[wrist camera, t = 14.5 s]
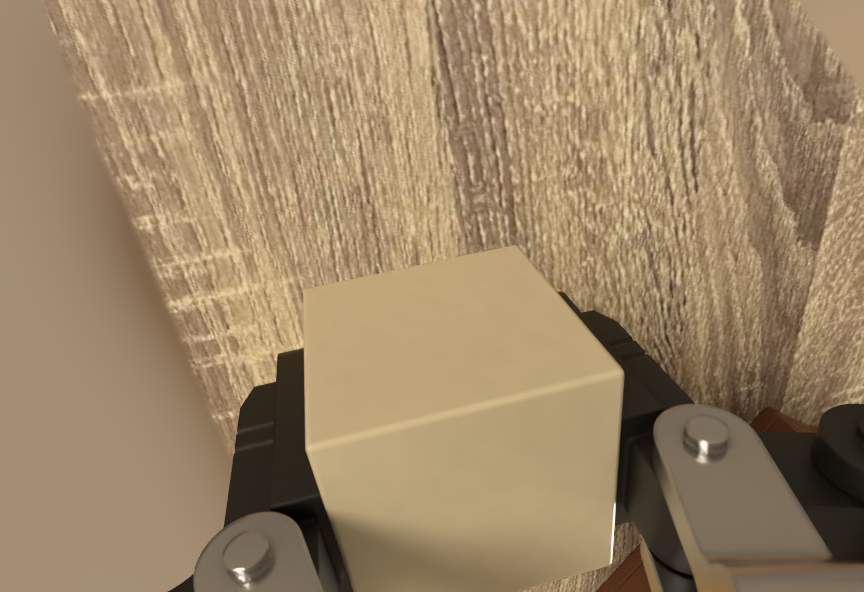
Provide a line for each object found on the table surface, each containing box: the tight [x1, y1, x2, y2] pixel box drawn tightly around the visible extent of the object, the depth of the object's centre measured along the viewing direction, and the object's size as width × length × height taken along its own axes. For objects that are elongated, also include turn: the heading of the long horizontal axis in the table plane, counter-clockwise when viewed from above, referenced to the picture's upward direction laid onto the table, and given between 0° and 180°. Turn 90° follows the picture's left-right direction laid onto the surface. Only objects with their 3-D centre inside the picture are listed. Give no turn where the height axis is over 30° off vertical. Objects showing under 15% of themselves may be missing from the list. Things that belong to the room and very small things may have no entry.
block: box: [303, 245, 625, 592], centre depth 9 cm, size 4×4×4 cm
